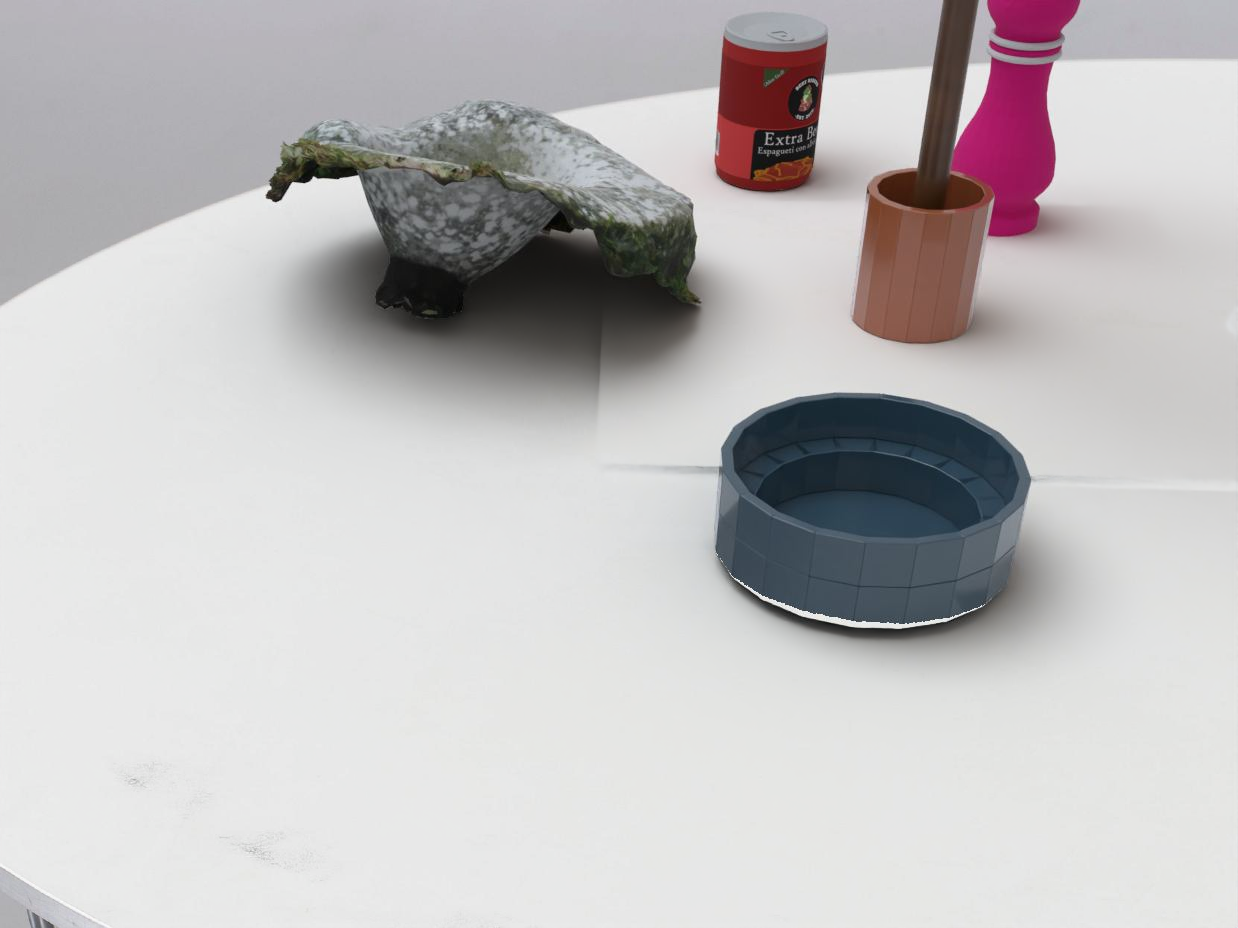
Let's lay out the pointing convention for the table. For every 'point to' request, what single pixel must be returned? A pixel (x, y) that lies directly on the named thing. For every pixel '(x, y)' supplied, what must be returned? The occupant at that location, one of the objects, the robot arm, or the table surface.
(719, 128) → the canned food
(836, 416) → the bowl
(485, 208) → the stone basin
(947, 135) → the long wooden stick
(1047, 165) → the pepper mill
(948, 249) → the crock
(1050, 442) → the table surface
